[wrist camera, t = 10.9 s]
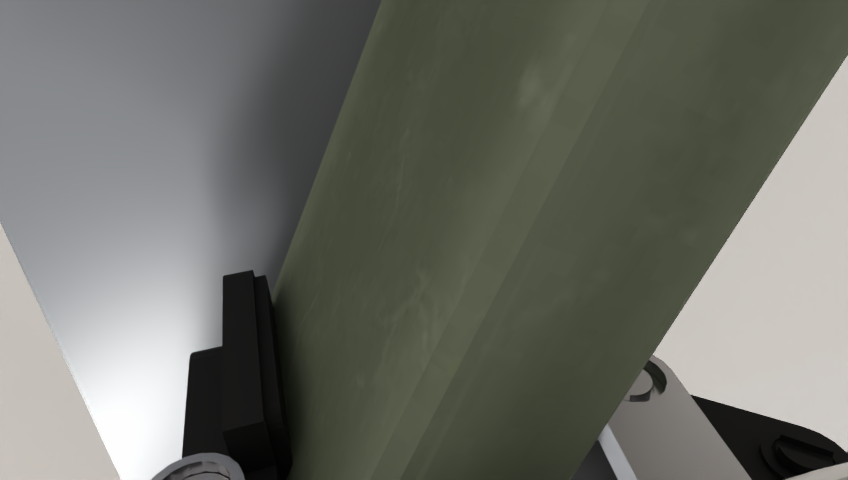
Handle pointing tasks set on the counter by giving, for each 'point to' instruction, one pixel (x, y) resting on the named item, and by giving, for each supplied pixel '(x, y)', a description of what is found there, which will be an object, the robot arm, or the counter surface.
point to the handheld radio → (525, 220)
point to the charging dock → (160, 179)
